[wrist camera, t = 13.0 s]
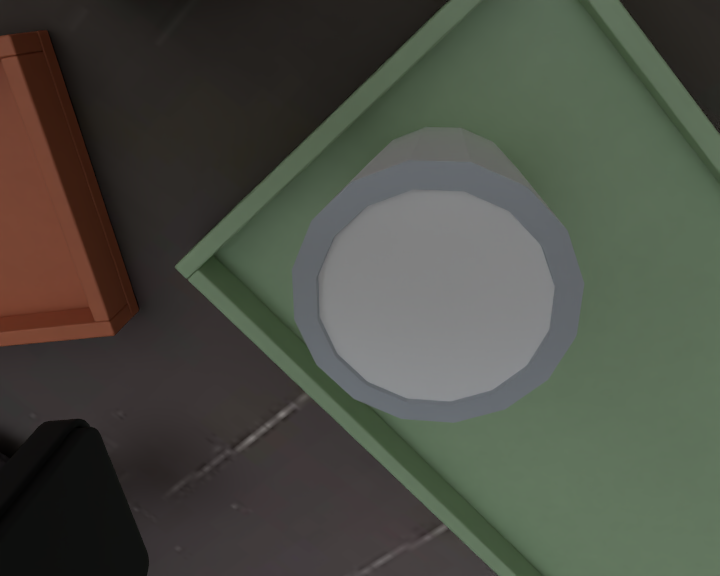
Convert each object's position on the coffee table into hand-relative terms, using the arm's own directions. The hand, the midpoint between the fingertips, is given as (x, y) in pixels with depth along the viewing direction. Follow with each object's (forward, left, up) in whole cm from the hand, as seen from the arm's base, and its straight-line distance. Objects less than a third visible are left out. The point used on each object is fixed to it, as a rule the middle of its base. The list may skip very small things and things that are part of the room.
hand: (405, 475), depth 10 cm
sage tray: (+9, +6, -14) cm, 17 cm away
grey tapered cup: (0, 0, -14) cm, 14 cm away
